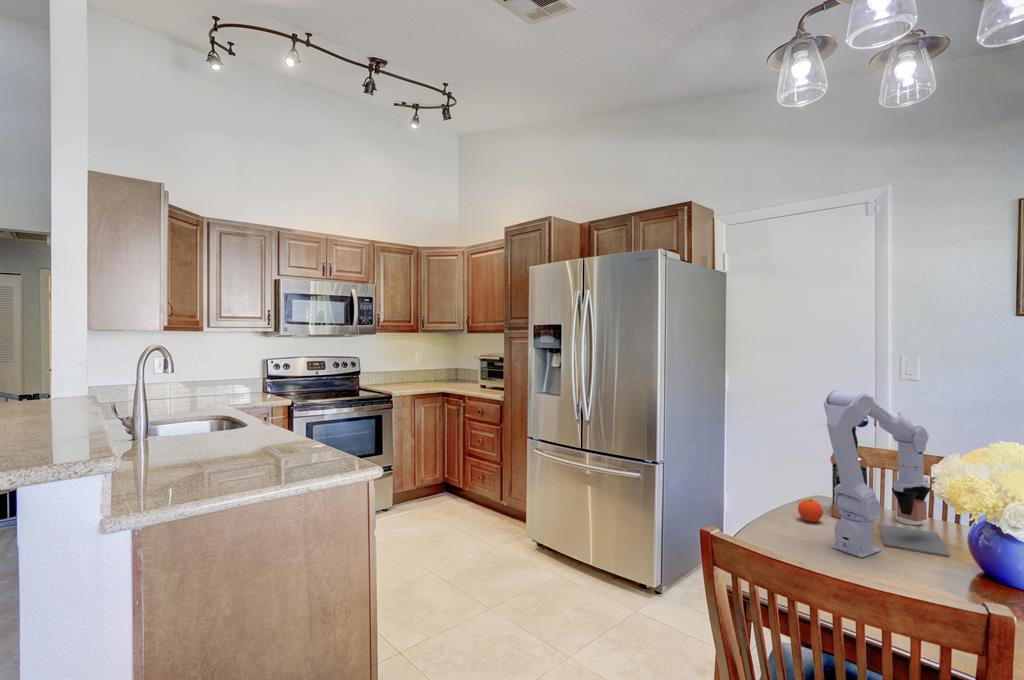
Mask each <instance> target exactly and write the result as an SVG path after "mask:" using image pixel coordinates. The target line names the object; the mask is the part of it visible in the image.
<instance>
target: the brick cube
mask: <svg viewBox="0 0 1024 680" xmlns="http://www.w3.org/2000/svg"><path fill="white" fill-rule="evenodd" d="M927 508H928V507H927V501H926V500H924V501H922V500H917V499H914V502H913V508H912V513H911V515H906V514H902V512H901V509H900V506H899V503H898V500H897V517H901V518H905V519H908V520H912V521H916V522H919V521H922V522H923V521H925V520H927V519H928V515H927V514H928V513H927V511H928V510H927Z"/></svg>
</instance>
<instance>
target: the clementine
mask: <svg viewBox="0 0 1024 680" xmlns="http://www.w3.org/2000/svg"><path fill="white" fill-rule="evenodd" d="M799 501H800V502H799V504H798V507H797V511H798V514H799V516H800V517H801V518H802V519H803V520H805V521H807V522H811V523H813V522H818V521H820V520H821V518H822V517H823V515H824V514H823V513H824V512H823V511H824V510H823V508H822V506H821V504H820V503H819V502H818V501H816V500H814V499H812V498H811V499H810V498H804V499H802V498H800V499H799Z"/></svg>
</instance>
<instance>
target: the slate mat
mask: <svg viewBox="0 0 1024 680" xmlns="http://www.w3.org/2000/svg"><path fill="white" fill-rule="evenodd" d="M879 529H880V534H881V537H882V542H883V546H884V547H886V548H887V547H888V548H894V549H898V550H904V551H911V552H917V553H922V554H929V555H935V556H940V557H946V558H950V554H949V552H948V549H947V548H946V545H945V544H944V542H943V540H942V539H941V537H940V535H939V533H938V532H931V531H925V530H921V529H914V528H907V527H899V526H894V525H887V524H881V523H880V524H879Z"/></svg>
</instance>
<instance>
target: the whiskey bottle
mask: <svg viewBox="0 0 1024 680" xmlns="http://www.w3.org/2000/svg"><path fill="white" fill-rule="evenodd" d="M856 431H857V426H855V427H853V428H852V433H853V437H854V442H855V446H856V450H857V454H858V458H859V462H860V467H861V471H862V475H863V479H864V483H865V484H866V485H867V486H868V466H869V456H868V455H866V454H864V453H863V452H861V451H860V450H858V445H859V442H858V436H857V433H856ZM830 463H831V464H832V502H831V505H830V507H831V508H830V516H831V517H832V518H836V519H841V517H842V514H840V513H839V509H837V508H836V506H835V503H834V498H835V492H834V488H835V487H836V486H837V485H838V484H840V483H841V481H840V477H839V473H838V469H837V465H836V461H835V456H834V452H833V451H832V454H831V456H830Z"/></svg>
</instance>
